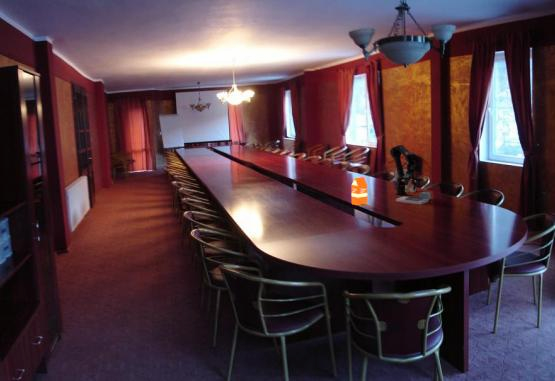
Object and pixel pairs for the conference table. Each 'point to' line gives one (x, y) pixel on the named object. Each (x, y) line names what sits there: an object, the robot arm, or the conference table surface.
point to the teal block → (425, 195)
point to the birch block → (409, 188)
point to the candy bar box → (397, 176)
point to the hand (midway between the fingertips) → (410, 190)
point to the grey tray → (412, 200)
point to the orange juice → (359, 191)
